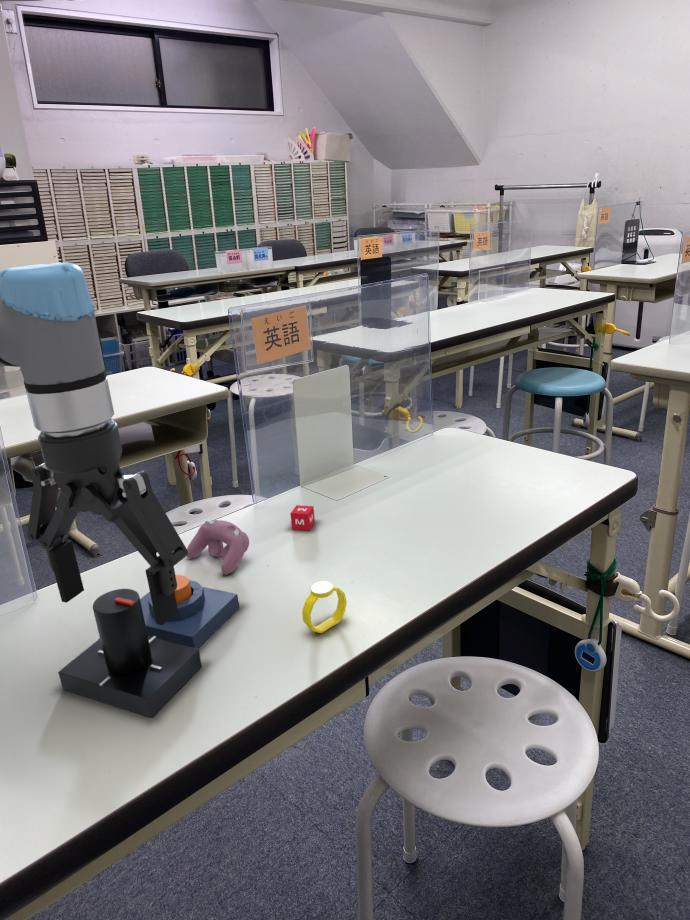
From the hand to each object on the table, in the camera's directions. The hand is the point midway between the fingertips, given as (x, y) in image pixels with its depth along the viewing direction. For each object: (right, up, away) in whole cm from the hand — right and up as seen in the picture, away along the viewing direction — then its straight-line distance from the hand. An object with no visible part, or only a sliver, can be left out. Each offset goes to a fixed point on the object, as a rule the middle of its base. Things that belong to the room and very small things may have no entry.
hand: (118, 606), depth 76 cm
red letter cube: (+18, +5, +37) cm, 42 cm away
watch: (+23, -5, +11) cm, 26 cm away
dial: (0, -7, +3) cm, 7 cm away
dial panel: (0, -9, +4) cm, 10 cm away
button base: (+3, -5, +14) cm, 15 cm away
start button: (+3, -1, +13) cm, 13 cm away
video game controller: (+6, +1, +28) cm, 29 cm away
